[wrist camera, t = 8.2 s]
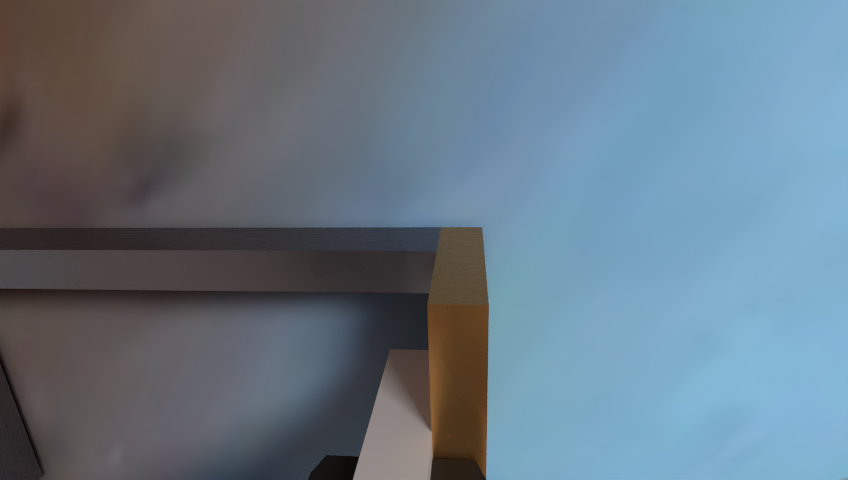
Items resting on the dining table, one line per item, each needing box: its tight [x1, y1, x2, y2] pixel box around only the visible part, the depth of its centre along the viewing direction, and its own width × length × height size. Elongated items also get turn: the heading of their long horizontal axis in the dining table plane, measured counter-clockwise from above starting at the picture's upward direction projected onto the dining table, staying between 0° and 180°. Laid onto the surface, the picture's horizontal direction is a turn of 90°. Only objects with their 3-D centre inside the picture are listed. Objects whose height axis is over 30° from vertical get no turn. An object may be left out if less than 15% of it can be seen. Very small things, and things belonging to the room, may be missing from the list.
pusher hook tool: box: [0, 227, 489, 480], centre depth 15 cm, size 28×10×5 cm, turn 92°
